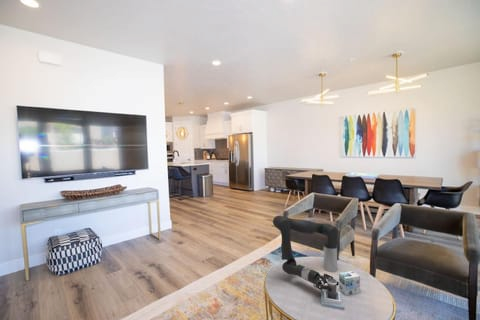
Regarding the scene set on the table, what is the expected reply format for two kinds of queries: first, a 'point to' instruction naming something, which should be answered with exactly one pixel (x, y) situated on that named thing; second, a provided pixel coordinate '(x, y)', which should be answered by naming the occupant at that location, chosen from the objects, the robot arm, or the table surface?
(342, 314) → the table surface
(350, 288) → the light bulb box
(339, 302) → the blue square socket base
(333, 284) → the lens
